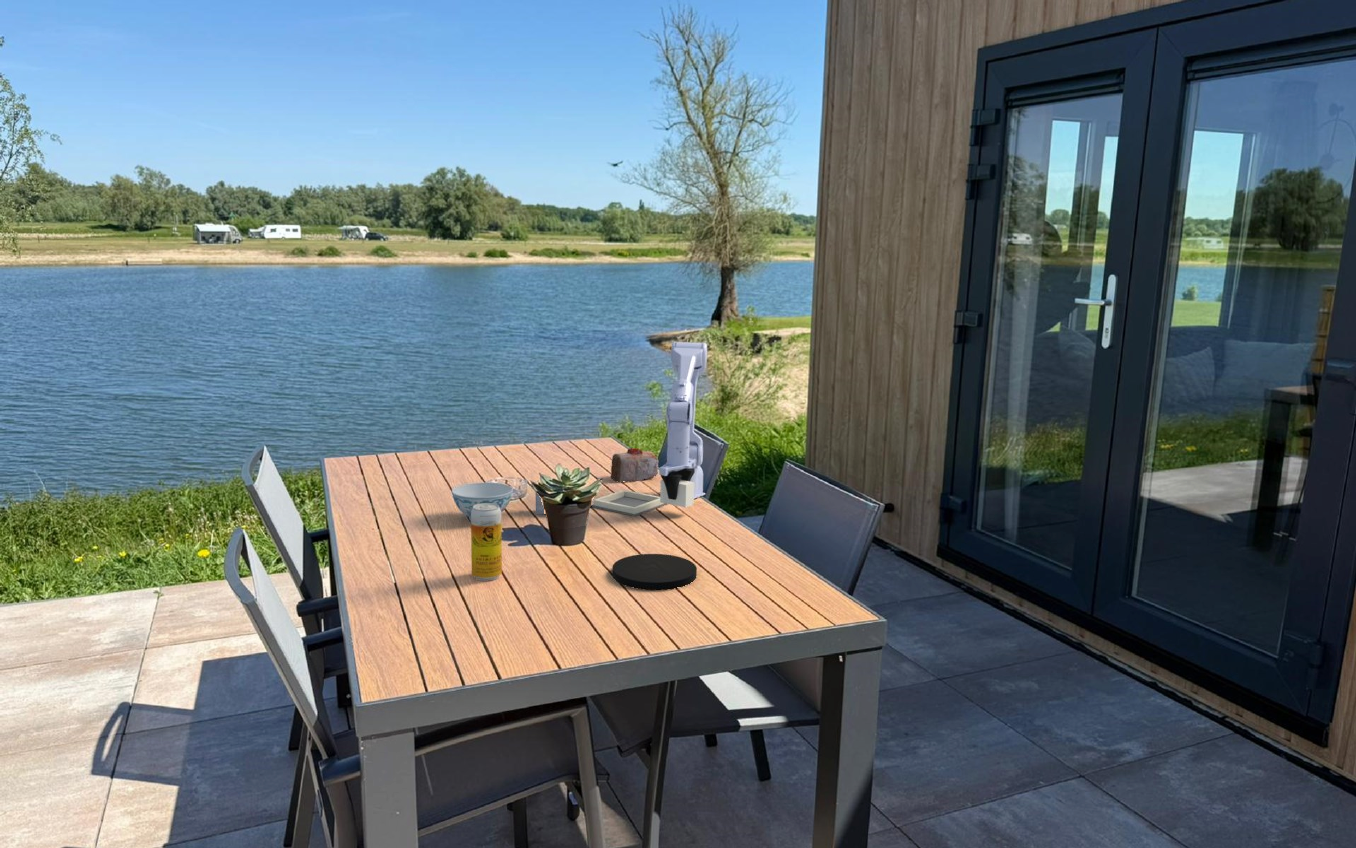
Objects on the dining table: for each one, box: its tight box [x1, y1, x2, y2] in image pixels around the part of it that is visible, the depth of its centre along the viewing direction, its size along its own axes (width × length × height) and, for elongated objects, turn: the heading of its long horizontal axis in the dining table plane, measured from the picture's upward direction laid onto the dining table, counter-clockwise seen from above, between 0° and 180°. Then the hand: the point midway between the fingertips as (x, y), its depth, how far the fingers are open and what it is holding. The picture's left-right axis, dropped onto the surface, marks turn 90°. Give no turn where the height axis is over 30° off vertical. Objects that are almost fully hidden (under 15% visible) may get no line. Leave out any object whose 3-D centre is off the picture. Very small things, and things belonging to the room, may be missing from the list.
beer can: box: [470, 503, 503, 582], centre depth 177 cm, size 6×6×15 cm
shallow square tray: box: [591, 489, 668, 517], centre depth 235 cm, size 15×15×2 cm
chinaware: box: [451, 482, 514, 522], centre depth 218 cm, size 15×15×8 cm
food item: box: [610, 447, 659, 483], centre depth 264 cm, size 14×8×10 cm, turn 122°
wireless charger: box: [611, 553, 698, 591], centre depth 182 cm, size 18×18×2 cm
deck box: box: [659, 479, 695, 508], centre depth 227 cm, size 4×8×6 cm, turn 57°
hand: (677, 497), depth 227 cm, fingers closed on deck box, 4 cm apart
